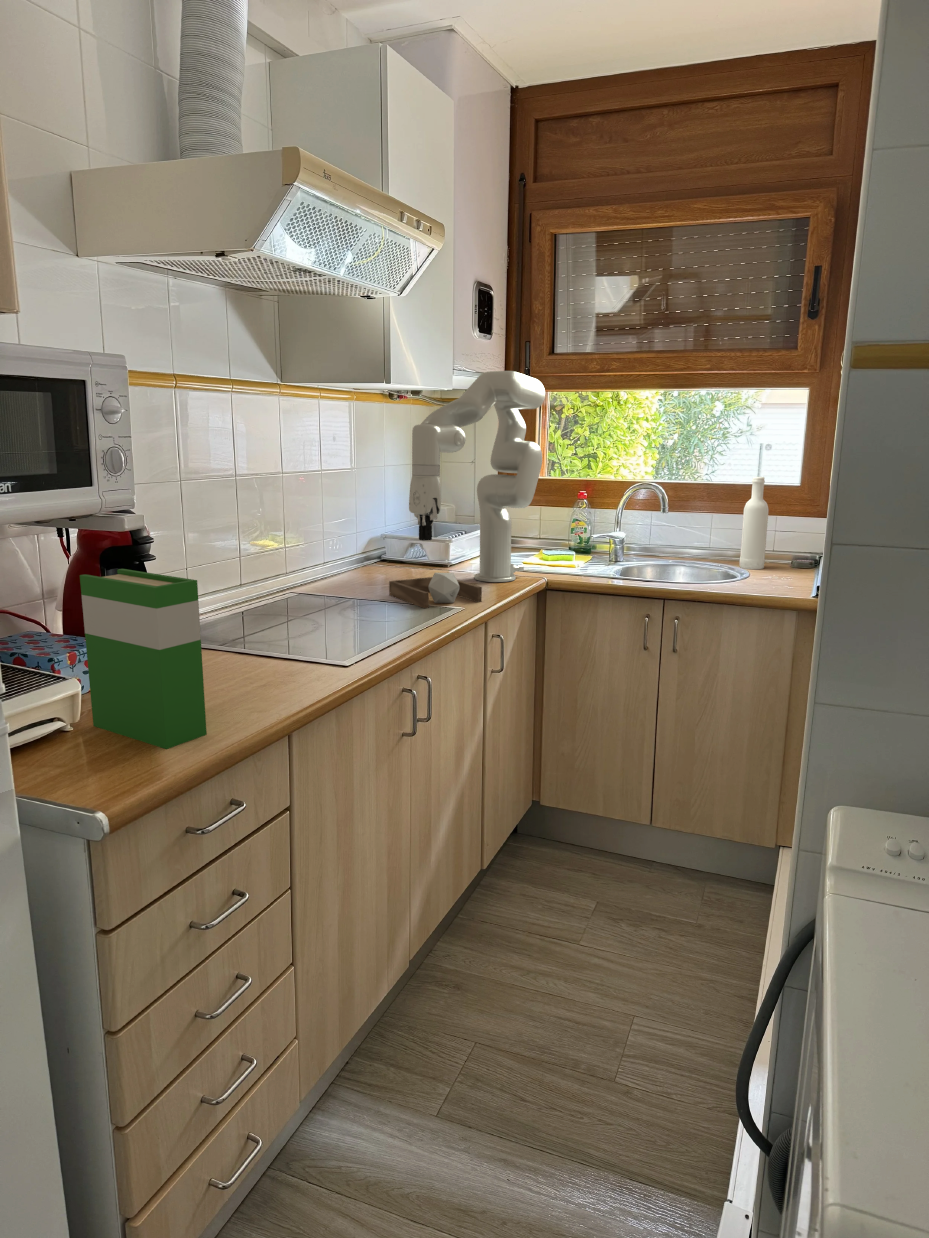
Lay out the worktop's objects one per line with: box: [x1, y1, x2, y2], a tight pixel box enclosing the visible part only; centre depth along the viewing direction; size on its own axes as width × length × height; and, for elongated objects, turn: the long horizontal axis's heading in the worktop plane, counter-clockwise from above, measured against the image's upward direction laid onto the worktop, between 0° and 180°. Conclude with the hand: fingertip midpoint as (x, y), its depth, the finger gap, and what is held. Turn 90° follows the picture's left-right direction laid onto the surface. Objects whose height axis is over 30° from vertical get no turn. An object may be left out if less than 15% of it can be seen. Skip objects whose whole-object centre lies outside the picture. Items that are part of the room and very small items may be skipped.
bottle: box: [739, 476, 769, 570], centre depth 290 cm, size 8×8×30 cm
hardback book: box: [79, 568, 208, 750], centre depth 133 cm, size 18×7×24 cm, turn 56°
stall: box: [388, 576, 483, 609], centre depth 238 cm, size 17×20×4 cm
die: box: [429, 572, 460, 604], centre depth 234 cm, size 8×9×10 cm
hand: (425, 539), depth 239 cm, fingers closed
